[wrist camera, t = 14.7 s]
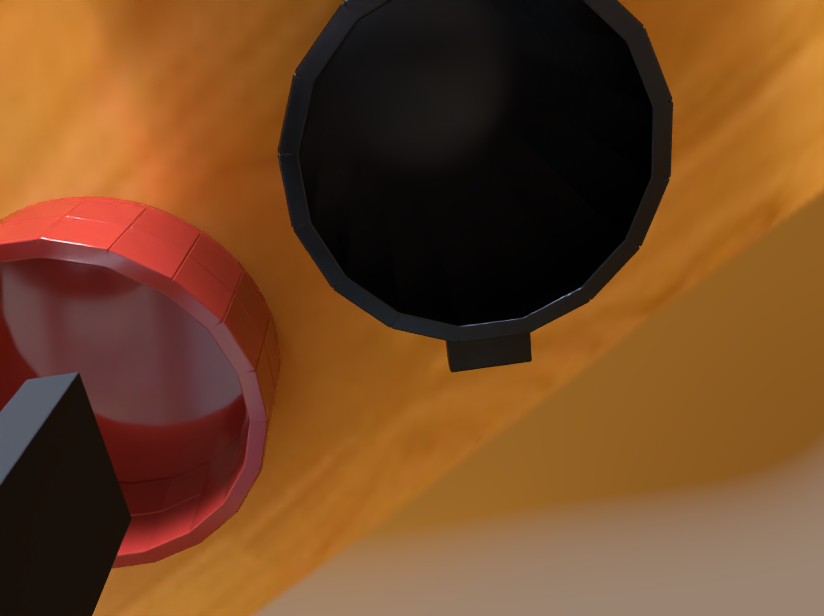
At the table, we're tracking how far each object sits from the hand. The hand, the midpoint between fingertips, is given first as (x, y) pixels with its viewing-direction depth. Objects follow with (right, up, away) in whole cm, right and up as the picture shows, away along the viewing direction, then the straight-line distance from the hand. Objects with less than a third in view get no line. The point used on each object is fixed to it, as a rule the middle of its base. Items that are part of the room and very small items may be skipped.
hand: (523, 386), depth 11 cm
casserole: (-16, -1, +24) cm, 29 cm away
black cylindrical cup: (-1, +10, +20) cm, 23 cm away
